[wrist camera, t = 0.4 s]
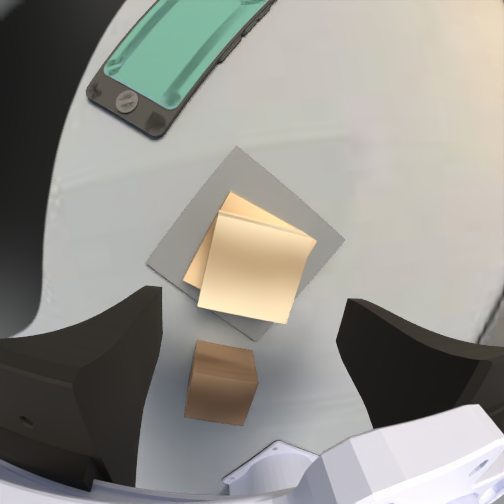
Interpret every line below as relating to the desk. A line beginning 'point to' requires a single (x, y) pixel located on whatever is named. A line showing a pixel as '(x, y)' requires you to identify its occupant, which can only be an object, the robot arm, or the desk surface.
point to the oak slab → (231, 205)
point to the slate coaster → (261, 194)
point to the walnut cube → (221, 384)
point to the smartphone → (170, 58)
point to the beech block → (253, 268)
